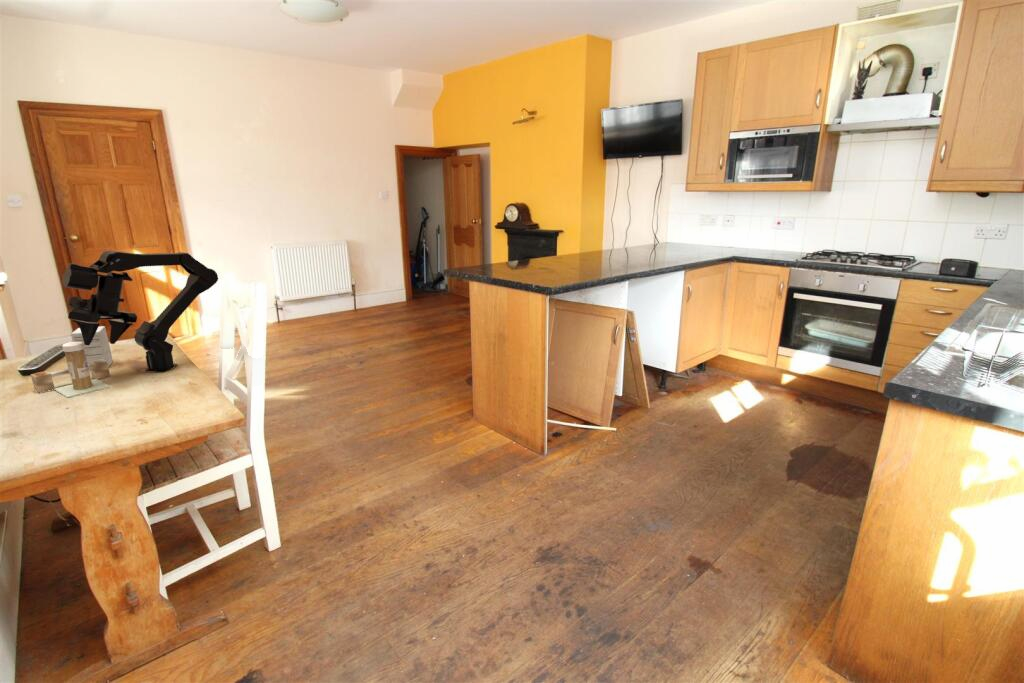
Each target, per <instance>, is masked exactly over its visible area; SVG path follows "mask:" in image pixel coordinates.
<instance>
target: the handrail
mask: <svg viewBox="0 0 1024 683" xmlns="http://www.w3.org/2000/svg"><path fill="white" fill-rule="evenodd" d="M88 368H89V369H90V370H89V371H90V375H91V378H93V379H97V380H101V379H105V378H109V377H111V374H110V368H109V367H108V363H107V361H106V360H103V359H98V360H94V361H91V362H89V365H88ZM64 375H70V373H69V369H68V368H66V369H63V370H57V371H53V372H49V371H47V370H45V371H39V372H35V373H32V374H30V377H31V381H32V384H33V389H34V391H35V390H36V391H37V392H36V391H35V392H36V393H38V392H43V391H47V392H49V391H48V390H52V389H55V384H54V380H53V378H55V377H59V376H64ZM100 378H101V379H100ZM52 391H53V390H52ZM43 393H44V392H43Z"/></svg>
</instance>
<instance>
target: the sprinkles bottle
mask: <svg viewBox="0 0 1024 683" xmlns="http://www.w3.org/2000/svg"><path fill="white" fill-rule="evenodd" d="M62 350H63V352H64V355H65V360H66V364H67V365H66V366H67V369H69V376H70V379H71V385H72V384H73V389H77V390H78V389H85V388H89V387H91V386H92V385H93V384H92V382H91V380H92V379H91V378H92V377H91V371H90V370H89V368H88V364H87V361H86V357H85V353H84V345H83V343H82V342H73V341H71V342H66V343H63V344H62Z"/></svg>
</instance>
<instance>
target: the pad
mask: <svg viewBox="0 0 1024 683" xmlns="http://www.w3.org/2000/svg"><path fill="white" fill-rule="evenodd" d="M91 382H92V384H93V385H92V386H91V387H89V388H85V389H78V390H77V389H73V384H72V383H71V384H68V385H65V386H60V387H56V388H55V389H54V390H53V391H55V390H56V391H55V392H57V391H58V392H59V394H60V393H61V394H63V395H64V397H65V396H66V397H67V398H66V397H65V398H66V399H69V398H68V397H70V398H73V397H72V396H74V397H78V396H81V395H80V394H82V395H85V394H84V393H86V394H89V393H88V392H90V393H93V392H92V391H94V392H97V391H96V390H98V391H101V390H104V388H105V389H109V388H110V387H111V386H110V384H107V383H105V382H102V380H100V379H95V378H93V379H91ZM108 387H109V388H108ZM100 389H101V390H100ZM58 392H57V393H58ZM61 394H60V395H61ZM63 395H62V396H63ZM77 395H78V396H77Z"/></svg>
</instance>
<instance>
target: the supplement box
mask: <svg viewBox="0 0 1024 683" xmlns="http://www.w3.org/2000/svg"><path fill="white" fill-rule="evenodd" d="M70 336H71V340H72V342H82V343H83V345H84V353H85V357H86V361H87V364H88V365H89V362H91V361H94V360H98V359H103V360H106V361H107V363H108V368H109V367H110V366H111V364H113V361H114V359H113V355H112V351H111V346H110V340H109V338H108V333H107V329H106V326H104V325H101V326H100V325H99V327H98V329H97V331H96V333H95V335H94V337H93V340H92V342H91V343H90V345H85V344H84V340H83V336H82V333H81V330H80V327H78V328H76V329H75V330H74V331H73V332H72V333H70ZM89 371H91V370H90V369H89Z"/></svg>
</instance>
